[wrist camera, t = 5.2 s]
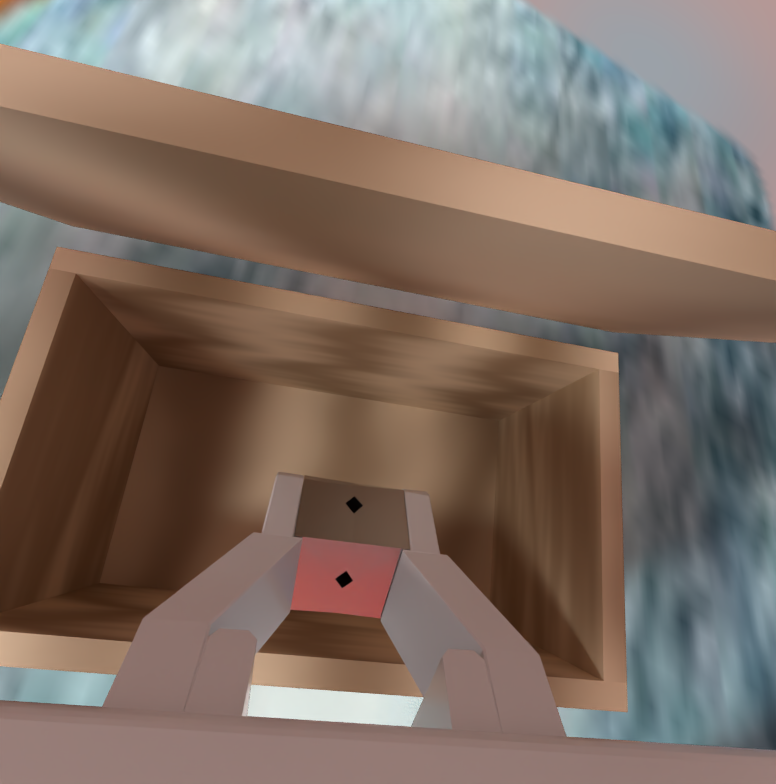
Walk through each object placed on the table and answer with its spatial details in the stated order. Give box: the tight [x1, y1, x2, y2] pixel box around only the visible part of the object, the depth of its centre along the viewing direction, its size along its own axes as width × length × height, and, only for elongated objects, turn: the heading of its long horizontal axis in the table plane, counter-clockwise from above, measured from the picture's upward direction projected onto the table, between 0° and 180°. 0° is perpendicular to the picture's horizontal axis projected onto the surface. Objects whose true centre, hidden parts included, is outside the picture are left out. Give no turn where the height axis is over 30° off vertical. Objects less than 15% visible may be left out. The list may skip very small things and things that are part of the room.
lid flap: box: [0, 44, 776, 343], centre depth 11 cm, size 19×12×1 cm
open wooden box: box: [0, 247, 628, 712], centre depth 20 cm, size 20×12×10 cm, turn 84°
